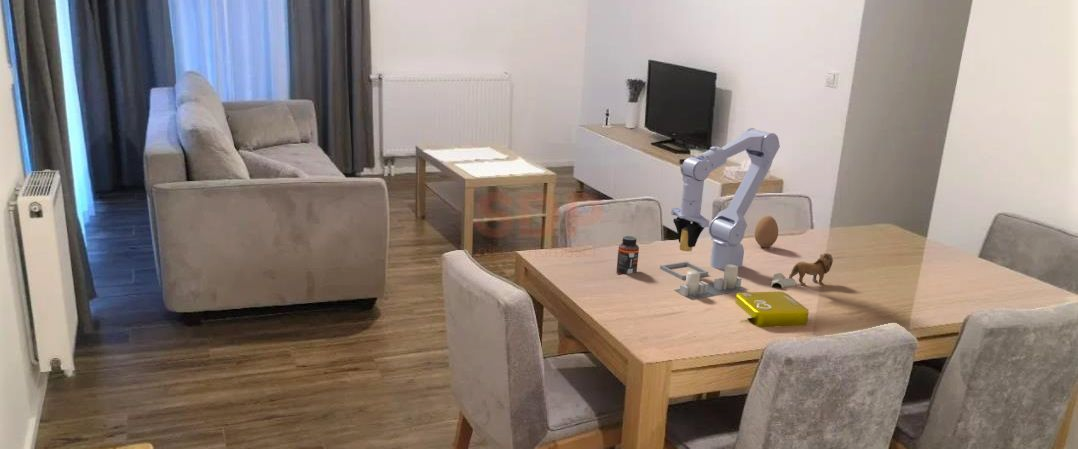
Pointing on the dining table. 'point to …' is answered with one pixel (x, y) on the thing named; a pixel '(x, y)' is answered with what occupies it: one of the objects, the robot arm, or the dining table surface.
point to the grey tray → (666, 267)
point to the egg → (766, 231)
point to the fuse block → (711, 289)
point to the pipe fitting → (783, 280)
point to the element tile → (772, 309)
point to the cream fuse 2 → (731, 275)
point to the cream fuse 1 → (692, 282)
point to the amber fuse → (684, 240)
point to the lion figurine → (813, 268)
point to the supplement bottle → (627, 256)
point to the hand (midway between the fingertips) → (686, 244)
